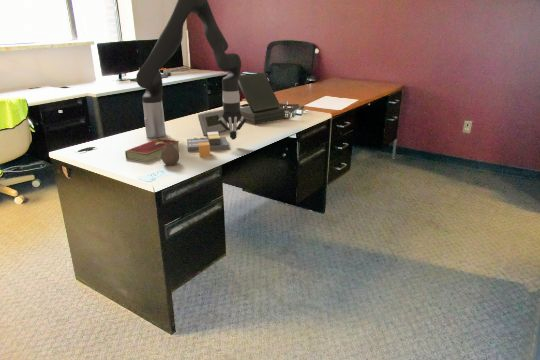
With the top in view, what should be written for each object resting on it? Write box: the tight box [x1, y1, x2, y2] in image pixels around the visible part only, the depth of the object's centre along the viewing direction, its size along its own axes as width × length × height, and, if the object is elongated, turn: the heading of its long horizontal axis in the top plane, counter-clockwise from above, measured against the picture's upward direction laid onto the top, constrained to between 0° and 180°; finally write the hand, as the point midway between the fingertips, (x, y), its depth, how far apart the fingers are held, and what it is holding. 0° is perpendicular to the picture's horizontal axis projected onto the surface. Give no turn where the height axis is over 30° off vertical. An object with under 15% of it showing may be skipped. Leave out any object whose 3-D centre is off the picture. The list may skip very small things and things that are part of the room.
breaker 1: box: [206, 132, 220, 138], centre depth 193 cm, size 5×5×3 cm
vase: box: [160, 143, 180, 167], centre depth 167 cm, size 7×7×9 cm
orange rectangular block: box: [198, 142, 211, 158], centre depth 179 cm, size 4×4×5 cm
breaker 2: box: [207, 134, 221, 145], centre depth 188 cm, size 5×5×3 cm
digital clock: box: [197, 108, 229, 136], centre depth 214 cm, size 16×9×11 cm, turn 123°
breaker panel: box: [186, 136, 230, 153], centre depth 191 cm, size 18×14×3 cm
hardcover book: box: [124, 137, 180, 163], centre depth 182 cm, size 12×21×4 cm, turn 154°
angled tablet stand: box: [238, 72, 286, 126], centre depth 237 cm, size 23×20×25 cm
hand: (233, 139), depth 189 cm, fingers closed
